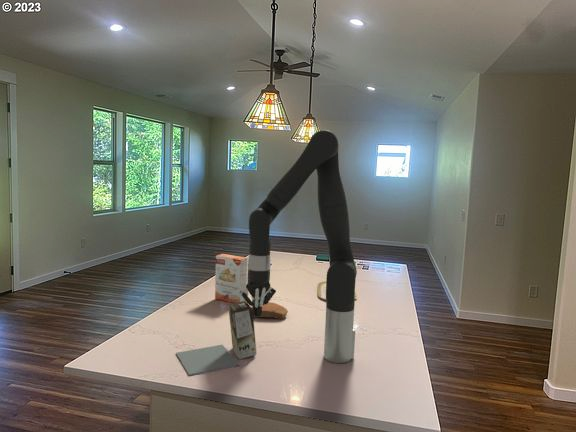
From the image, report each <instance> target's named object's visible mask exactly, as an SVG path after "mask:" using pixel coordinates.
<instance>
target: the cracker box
mask: <svg viewBox="0 0 576 432" xmlns="http://www.w3.org/2000/svg"><path fill="white" fill-rule="evenodd" d="M247 277H248V257H245V256H239V255H238V256H237V255H233V254H225V253H221V254H216V255H215V277H214V278H215V279H214V281H215V283H214V284H215V285H214V287H215V288H214V289H215V290H214V292H215V293H214V299H216V300H219V301H223V302H228V303H231V304H233V303H236V302H241V301H245V299H244V298H243V297H242V296H241V294H240V291H243V290H244V289H246V285H247V283H248V281H247Z"/></svg>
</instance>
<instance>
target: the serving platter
mask: <svg viewBox="0 0 576 432" xmlns="http://www.w3.org/2000/svg"><path fill="white" fill-rule="evenodd" d="M323 285H326V280H324V281H320V282H319V283H317V295H318V297H319V298H320V299H321V300H323V301H326V298H324V297H322V286H323ZM354 298H355V300H356V299H357V294H356V292H355V297H354Z"/></svg>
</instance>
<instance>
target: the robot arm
mask: <svg viewBox="0 0 576 432" xmlns="http://www.w3.org/2000/svg"><path fill="white" fill-rule="evenodd" d="M339 146H340V145H339V140H338V137H337V136H336V134H335V133H334V132H332V131H331V130H327V129H321V130H318V131H315V132H314V133H313V134H312V136H311V137H310V140H309V141H308V143H307V145H306V146H305V148H304V149H303V151H302V153H301V154H300V156H299V157H298V158H297V160H296V162H295V163H294V164H293V165H292V167H290V168H289V170H288V171H286V173H285V174H284V175H283V176H282V178H280V180H279V181H277V183H276V184H275V186H274V187H273V188H272V189H271V190H270V191H269V193H268V194H267V196H266V198H265V199H264V200H263V201H262V202H261V203H260V204H259V205H258V207H257V208H256V209H254V210H253V211H252V212H251V213H250V214H249V217H248V218H249V219H248V234H249V248H248V249H249V250H248V257H247V285H246V289H244V290H243V291H240V294H241V296H242V297H243V298H244V299H245V301H246V302H247V303H248V305H249V306H250V307H252V306H253V315H254V317H253V318H261V317H260V315H261V314H262V306H263V305H264V304H265V305H266V304H267V303H268V302H271V300H272V298H273V296H274V295H275V293H276V292H277V289H275V288H273V287H271V282H270V280H271V247H272V246H271V239H270V228H271V225H272V224H273V222H274V220H275V219H276V218H277V217H278V215H279V214H280V213H281V212H282V210H283V209H285V207H287V206H288V204H289V203H290V202H291V201H292V200H293V198H295V196H296V195H297V193H298V192H299V191H301V188H302V187H303V186H304V185H305V183H306V182H307V180H308V179H309V178H310V176H311V175H312V174H313V173H314V172H315V171H316V174H317V204H318V206H317V207H318V212H319V219H320V223H321V227H322V229H323V232H324V236H325V239H326V241H327V245H328V252H329V268H328V269H327V272H326V280H325V281H326V284H325V285H326V286H325V299H326V303H325V304H326V305H325V306H326V307H325V324H324V325H325V326H324V342H323V343H324V344H323V345H324V346H323V348H324V349H323V357H324V359H325V360H327V361H328V362H331V363H335V364H346V363H348V362H350V361H351V360H353V359H354V358H355V345H356V330H355V329H354V318H355V317H354V316H355V302H356V301H355V300H356V299H355V298H354V297H355V293H356V278H357V275H358V274H357V273H358V272H357V267H356V261H355V259H354V255H353V251H352V245H351V239H350V236H351V235H350V219H349V210H348V204H347V203H348V202H347V198H346V193H345V188H344V184H343V182H342V178H341V174H340V173H341V172H340V166H339V163H340V162H339ZM249 294H250V297H251V299H250V297H249Z"/></svg>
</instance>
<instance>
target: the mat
mask: <svg viewBox="0 0 576 432" xmlns="http://www.w3.org/2000/svg"><path fill="white" fill-rule="evenodd" d="M175 354H176V356H177V357H178V360H179V361H180V363H181V365H182V367H183V368H184V370H185V371H186V373H187V375H188V376H189V377H190V376H194V375H195V376H197V375H199V374H200V375H201V374H206V373H210V372H213V371H218V370H223V369H229V368H233V366H234V367H238V366H237V365H239V366H240V362H238V361H237V360H236V359H235V358H234V356H233V355H232V354H231V353H230V352H229V350H228V349H227V348H226V347H225V345H223V344H218V345H212V346H206V347H200V348H196V349H195V348H194V349H189V350H184V351H178V352H176V353H175Z"/></svg>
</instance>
